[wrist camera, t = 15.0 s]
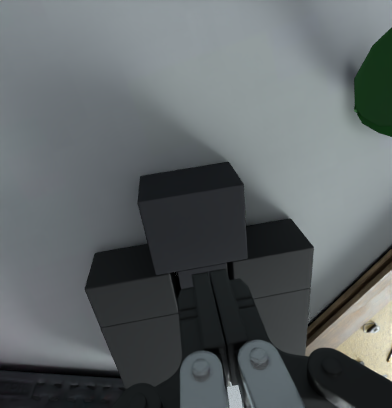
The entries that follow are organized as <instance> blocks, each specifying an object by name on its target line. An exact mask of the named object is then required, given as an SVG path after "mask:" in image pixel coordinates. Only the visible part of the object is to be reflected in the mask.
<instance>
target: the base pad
mask: <svg viewBox="0 0 392 408" xmlns="http://www.w3.org/2000/svg"><path fill="white" fill-rule="evenodd" d="M246 237H247V256H248V258H247V259H243V260H237V261H232V262H226V263H227V272H228V277H229V280H233V279H238V278H240V279H241V280H243V281H244V282H245V283H246V284H247V285H248V287H249V289H250V292H251V294H252V297H253V299H254V302H255V305H256V307H257V309H258V312H259V314H260V317H261V320H262V322H263V325H264V327H265V330H266V332H267V335H268V337H269V339H270V341H271V342H272V343H273V345H274V346H276V347H277V348H278V349H280V350H281V351H283V352H286V353H289V354H294V355H302V356H305V352H306V340H307V327H308V315H309V302H310V290H311V288H310V287H311V276H312V264H313V251H314V247H313V246H312V244H311V243H310V242H309V241H308V239H307V238H306V237H305V236H304V234H303V233H302V232H301V231H300V229H299V228H298V227H297V226H296V224H295V223H294V222H293V221H292V219H286V220H280V221H275V222H269V223H263V224H258V225H252V226H246ZM85 291H86V294H87V296H88V299H89V301H90V303H91V306H92V308H93V311H94V313H95V315H96V318H97V320H98V323H99V325H100V327H101V331H102V333H103V336H104V338H105V340H106V343H107V345H108V348H109V350H110V352H111V355H112V357H113V360H114V362H115V364H116V367H117V369H118V372H119V374H120V376H121V379H122V381H123V384H124V386H125V388H126V389H128V388H129V387H130V386H132V385H134V384H138V383H148V384H151V385H152V386H154V387H155V386H157V385H159V384H160V383H162V382H164V381H166V380H167V379H169V378H170V377H171V376H173V375H174V373H175V372H176V371H177V370H178V368H179V366H180V364H181V361H182V348H181V336H180V325H179V314H178V303H177V298H178V296H179V293H180V291H181V287H180V282H179V277H175V273H174V272H171V273H166V274H160V275H156V274H155V270H154V266H153V262H152V258H151V254H150V250H149V246H148V244H146V245H140V246H135V247H129V248H123V249H118V250H112V251H107V252H101V253H96V254H95V255H94V258H93V262H92V265H91V269H90V272H89V276H88V279H87V283H86V286H85ZM228 371H229V370H228ZM229 379H230V374H229ZM230 382H231V379H230Z"/></svg>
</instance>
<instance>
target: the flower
mask: <svg viewBox="0 0 392 408" xmlns="http://www.w3.org/2000/svg"><path fill="white" fill-rule="evenodd" d="M354 92H355V107H354V111H355V112H356V113H357V115H358V117H359V118H360V120H361V122H362V123H363V124H364V125H366V126H368V127H370V128H371V129H373V130H375V131H377V132H378V133H381V134H384V135H387V136H390V137H392V28H391V29H390V30H389V31H387V32H386V33H385V34H384V35H383V36H382V37H381V38H380V39H379V40H378V41H377V42H376V43H375V44H374V45H373V46H372V48H371V50H370V51H369V53H368V55H367V57H366V59H365V60H364V62H363V64H362V66H361V68H360V69H359V71H358V73H357V75H356V77H355V78H354Z"/></svg>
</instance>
